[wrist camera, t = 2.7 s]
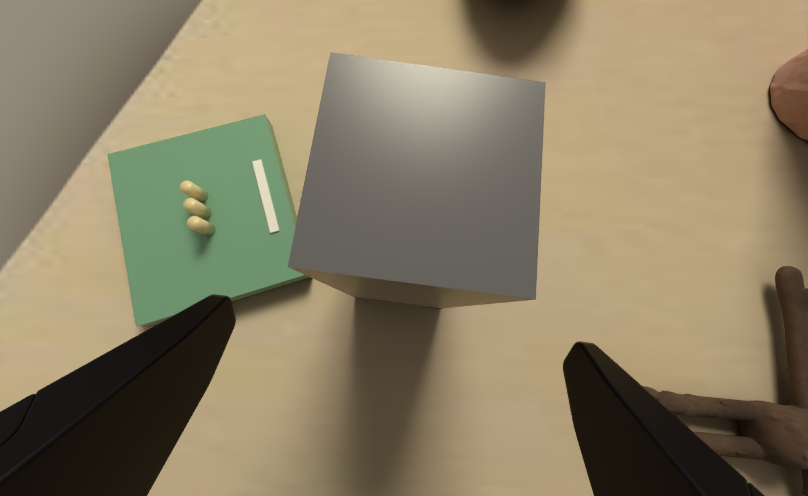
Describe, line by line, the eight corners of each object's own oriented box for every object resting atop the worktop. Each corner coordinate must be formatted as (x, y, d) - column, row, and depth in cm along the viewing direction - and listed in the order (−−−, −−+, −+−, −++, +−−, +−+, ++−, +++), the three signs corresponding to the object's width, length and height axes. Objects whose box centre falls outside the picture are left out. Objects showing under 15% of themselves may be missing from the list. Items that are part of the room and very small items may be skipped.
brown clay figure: (637, 245, 17) (944, 265, 16) (595, 259, 21) (836, 276, 20) (663, 666, 14) (1057, 725, 13) (606, 583, 18) (899, 623, 17)
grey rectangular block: (441, 308, 19) (535, 299, 7) (354, 297, 19) (287, 266, 6) (449, 225, 20) (545, 82, 8) (367, 214, 20) (330, 52, 7)
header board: (312, 276, 19) (300, 270, 16) (152, 325, 18) (113, 327, 15) (272, 125, 21) (255, 99, 18) (124, 163, 20) (84, 141, 17)
